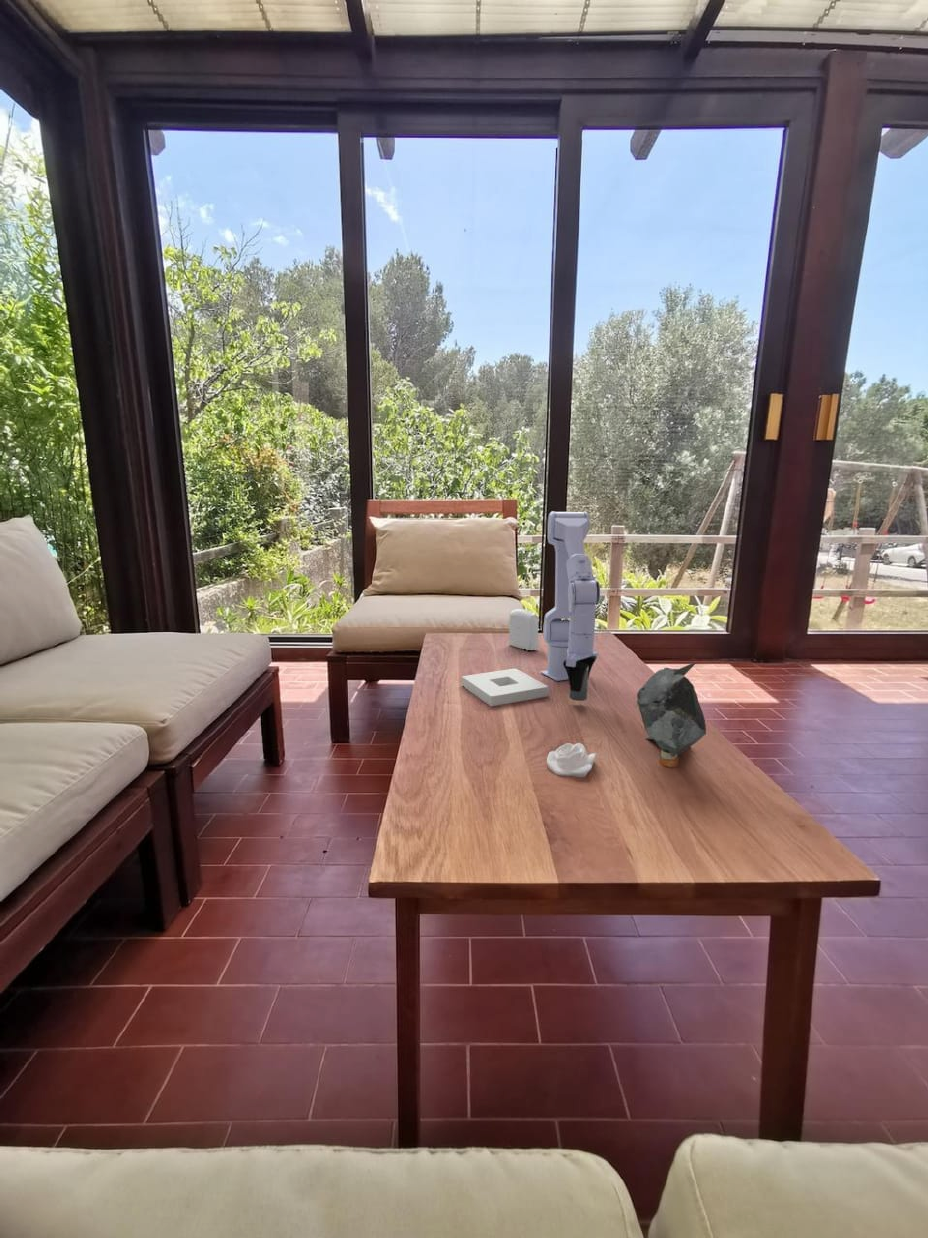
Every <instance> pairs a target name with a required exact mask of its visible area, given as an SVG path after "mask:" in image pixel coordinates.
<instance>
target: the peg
mask: <svg viewBox="0 0 928 1238" xmlns="http://www.w3.org/2000/svg"><path fill="white" fill-rule="evenodd" d="M582 664H585V663H582ZM588 669H589V666H588V668H587V669H586V672H585V674H584V678H583V683H582V688H581V690H580V692H576V691H571V688H570V687H569V699H570V700H572V701H578V702H583V701H586V700H587V699H588V681H589V678H588Z"/></svg>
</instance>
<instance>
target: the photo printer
mask: <svg viewBox="0 0 928 1238" xmlns="http://www.w3.org/2000/svg"><path fill="white" fill-rule="evenodd" d="M508 631H509V632H508V634H509V635H508V636H509V638H508V640H509V641H508V643H509V646H510V647H511V646H512V647H514V648H518V649H521V650H524V649H526V650H525V651H528V650H535V651H537V650H538V645H539V640H538V638H539V617H538V615H537V614H536V613H534V612H533V611H530V610H529V609H525V608H517V609H513V610H511V612H510V614H509V628H508Z"/></svg>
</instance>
